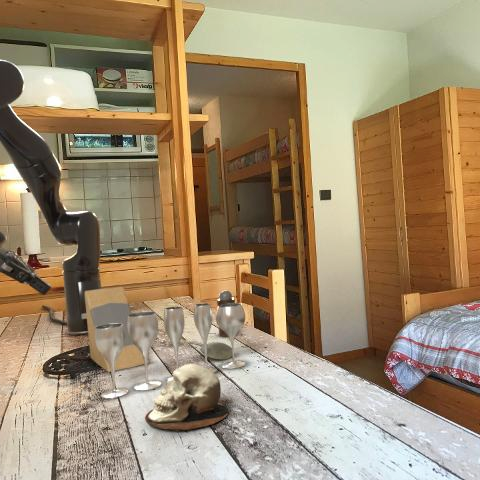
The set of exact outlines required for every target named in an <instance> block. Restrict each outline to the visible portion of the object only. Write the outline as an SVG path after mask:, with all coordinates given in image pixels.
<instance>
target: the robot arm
mask: <svg viewBox="0 0 480 480" xmlns="http://www.w3.org/2000/svg"><path fill="white" fill-rule="evenodd" d="M24 80H25V79H24V76H23V73H22V72H21V70H20V69H19V68H18V66H16V65H15V64H14V63H12V62H10V61H7V60H3V59H0V144H1V146H2V147H3V149H4V150H5V152H6V153H7V155H8V157H9V158H10V160H11V162H12V164H13V166H14V168H15V169H16V171H17V172H18V174H19V175H20V177H21V179H22V180H23V182H24V183H25V185H26V186H27V188H28V190H29V191H30V193H31V195H32V196H33V199H34V200H35V202H36V204H37V206H38V208H39V210H40V212H41V215H42V216H43V218H44V220H45V221H46V224H47V227H48V229H49V231H50V233H51V235H52V237H53V238H54V239H55V241H56V242H57V243H58V244H60V245H61V246H76V251H75V253H74V254H73V255H72V256H70V257H69V258H66V259H64V260H63V261H62V263H61V267H62V268H61V269H62V277H63V289H64V303H65V313H66V321H63V320H62V319H58V318H56V317H54V315H53V314H54V310H53V308H51V307H50V306H48V305H44V304H43V305H41V308H42V309H46V310H48V311H49V319H50V320H51V321H52V322H54V323H57V324H61V325H64V326H66V328H67V331H66V332H67V335H71V336H72V335H73V336H79V335H88V324H87V313H86V303H85V291H89V290H97V289H102V283H101V270H100V260H101V253H102V252H101V228H100V222H99V218H98V217H97V216H96V214H95V213H94V212H92V211H90V210H84V211H83V210H81V211H80V210H79V211H68V210H67V209H66V207H65V205H64V203H63V201H62V199H61V195H60V189H61V188H60V186H61V181H62V167H61V165H60V162H59V161H58V159H57V157H56V155H55V153H54V152H53V150H52V148H51V146H50V145H49V144H48V142H47V141H46V140H45V139H44V138H43V137H42V136H41V135H39V134H38V132H36V131H35V130H34V129H32V128H31V127H30V126H29V125H27V124H26V122H24V121H23V120H22V119H20V118H19V117H18V116H17V114H16V113H15V112H14V110H13V109H12V107H11V104H12V103H14V102H15V101H17V100H18V99H19V98H20V97H21V95H23V92H24V90H25V89H24V88H25V81H24ZM7 240H8V236H7V235H6V234H4V233H3V232H2V231H1V230H0V273H1V274H3V275H5V276H7V277H9V278H11V279H13V280H14V281H16V282H18V283H19V284H22V285H23V284H24V285H28V286H29V287H31V288H32V289H34V290H35V291H36V292H38V293H39V294H41V295H42V296H46V295H47V294H48V293H49V291H50V290H52V287H53V286H52V285H51V284H50V283H49V282H47V281H46V280H45V279H43V278H42V277H40V276H39V275H38V273H37V271H36V270H35V269H34V268H33V267H32V266H31V265H30V264H29V263H28V262H27V261H26V260H25V259H23V258H22V256H20V255H19V254H18V253H17V252H15V251H14V250H12V249H10V250H7V249H6V248H4V247H3V245H4V244H5V243H6V242H7Z"/></svg>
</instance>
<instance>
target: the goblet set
mask: <svg viewBox="0 0 480 480" xmlns="http://www.w3.org/2000/svg"><path fill="white" fill-rule="evenodd" d="M216 308H217V307H216ZM193 321H194V325H195V328H196V330H197V332H198V334H199V336H200V338H201V341H202V344H203V345H204V352H205V354H204V361H205V362H204V363H205V368H207V369H208V370H210V371H211V372H213V373H214V374H216V373H217V372H218V369H217V368H215V367H209V365H208V356H207V344H208V338H209V335H210V332H211V329H212V325H213V309H212V306H211V303H210V302H202V303H196V304H194V306H193ZM215 322H216V325H217V326H218V329H219V328H220V329H221V330H223V331H224V332H225V333H226V334H227V335H228V338H229V341H230V347H231V348H232V357H231V359H232V361H228V362H225V363H223V364H221V367H222V368H223V369H228V370H229V369H230V370H232V369H239V368H243V367H245V366H246V365H247V364H246V361H242V360H235V339H236V336H237V335H238V333H239V331H240V330H241V329H242V327H243V326H244V325H245V322H246V312H245V309H244V306H243V304H242V303H240V302H235V303H227V304H222V305H219V306H218V308H217V309H216V312H215ZM163 326H164V330H165V333H166V335H167V338H168V339H169V342H170V341H171V342H172V344H171V345H172V348H173V350H174V355H175V363H176V364H175V365H176V370H177V369H178V368H180V366H179V347H180V343H181V342H180V340H182V337H183V334H184V330H185V314H184V309H183V307H182V306H181V305H178V306H176V305H175V306H169V307H165V308H164V309H163ZM127 328H128V333H129V336H130V339H131V341H132V342H133V344H134V345H135V346H136V347H137V348H138V349H139V351H140V352H141V353H142V355H143V359H144V364H143V365H144V371H145V372H144V373H145V374H144V375H145V381H144V382H140V383H137V384H136V385H134V386H133V389H134V390H135V391H151V390H154V389H157V388H160V387H161V386H162V382H161V381H158V380H150V381H149V369H148V367H149V365H148V364H149V363H147V360H148V361H149V352H150V351H151V349H152V347H153V345H154V344H155V342H156V339H157V337H158V333H159V319H158V315H157V311H153V310H152V311H138V312H134V313H132V314H130V315H128V321H127ZM95 341H96V346H97V348H98V350H99V352H100V353H101V355H102V356H103V357H104V358H105V359H106V360H107V362H108V363H109V366H110V369H111V372H110V374H111V383H112V389H111V390H107V391H104V392H103V393H102V394H101V395H100V398H102V399H104V400H105V399H106V400H108V399H116V398H117V399H118V398H121V397H124V396H125V395H127V394H129V390H128V389H126V388H117V389H116V375H115V374H116V373H115V372H116V371H115V363H116V360H117V358H118V356H119V354H120V353H121V351H122V349H123V346H124V341H125V334H124V329H123V325H122V324H120V323H113V324H105V325H100V326H97V327H96V330H95ZM171 379H173V375H171V376H169V377H168V378H167V381H169V380H171Z"/></svg>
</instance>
